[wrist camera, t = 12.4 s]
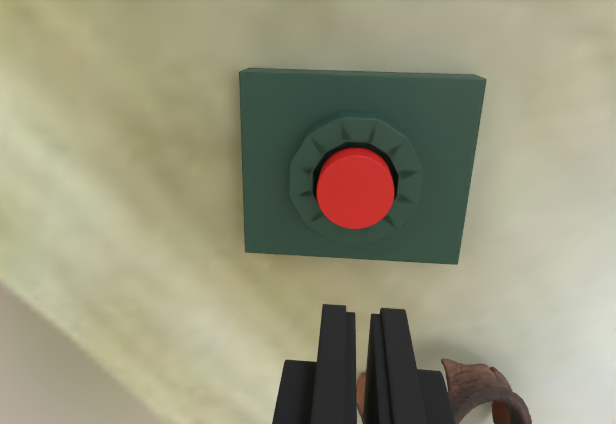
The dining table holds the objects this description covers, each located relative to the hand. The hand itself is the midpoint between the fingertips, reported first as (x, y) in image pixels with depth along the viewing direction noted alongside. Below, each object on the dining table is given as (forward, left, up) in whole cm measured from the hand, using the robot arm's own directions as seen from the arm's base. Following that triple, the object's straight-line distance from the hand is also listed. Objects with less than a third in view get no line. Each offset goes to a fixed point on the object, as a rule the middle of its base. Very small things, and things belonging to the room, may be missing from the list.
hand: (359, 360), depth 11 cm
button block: (0, 0, -17) cm, 17 cm away
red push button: (0, 0, -13) cm, 13 cm away
